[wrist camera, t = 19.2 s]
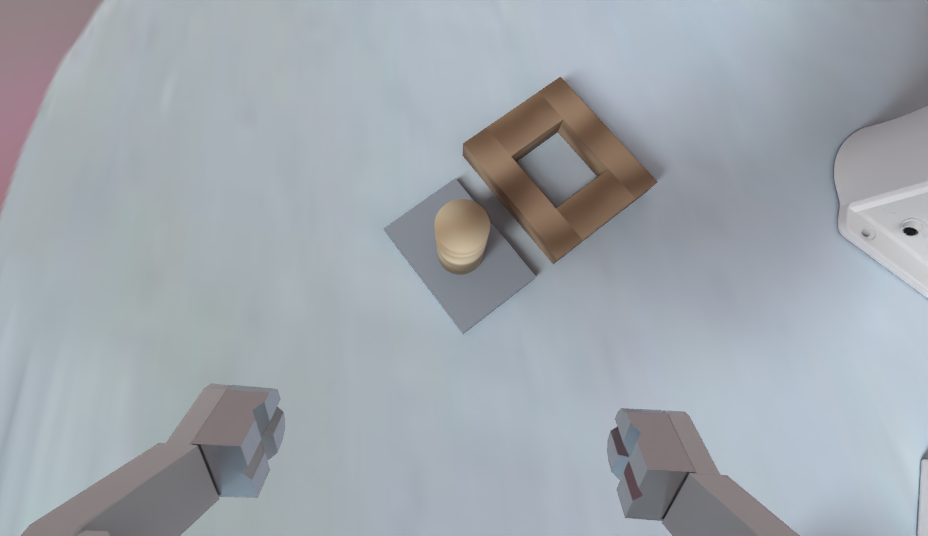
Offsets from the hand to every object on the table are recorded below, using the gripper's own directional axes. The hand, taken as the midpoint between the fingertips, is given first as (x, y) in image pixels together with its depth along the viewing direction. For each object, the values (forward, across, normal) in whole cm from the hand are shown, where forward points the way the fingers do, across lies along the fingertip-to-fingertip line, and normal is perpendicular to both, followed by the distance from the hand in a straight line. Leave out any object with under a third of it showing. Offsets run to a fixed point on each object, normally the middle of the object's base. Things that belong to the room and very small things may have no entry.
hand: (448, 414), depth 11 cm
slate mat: (+31, 0, +13) cm, 34 cm away
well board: (+38, -10, +7) cm, 39 cm away
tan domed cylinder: (+30, 0, +13) cm, 33 cm away
